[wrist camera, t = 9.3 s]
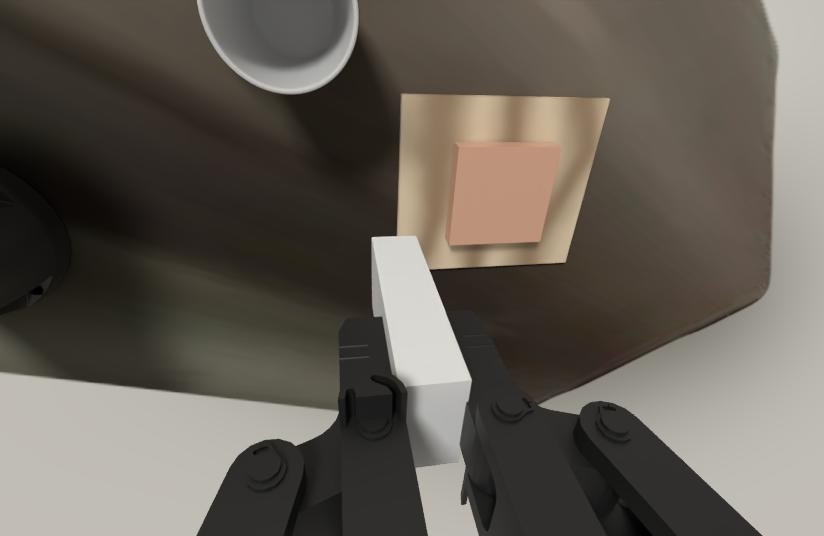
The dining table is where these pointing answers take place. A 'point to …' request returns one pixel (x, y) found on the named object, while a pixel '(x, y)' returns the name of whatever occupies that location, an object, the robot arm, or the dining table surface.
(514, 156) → the tile
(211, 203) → the dining table surface
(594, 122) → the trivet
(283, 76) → the mug
